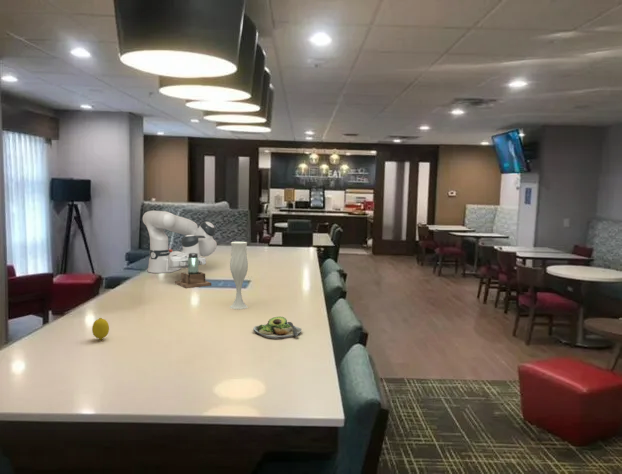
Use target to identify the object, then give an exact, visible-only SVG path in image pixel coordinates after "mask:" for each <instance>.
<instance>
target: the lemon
mask: <svg viewBox="0 0 622 474" xmlns="http://www.w3.org/2000/svg"><path fill="white" fill-rule="evenodd" d="M91 329H92V330H91V331H92V335H93V337H95V338H96V339H99V340H101V341H102V340H103V339H104V338H106V337H107V335H108V334H109V331H110V325H109V322H108V321H107V319H104V318H102V317H98V319H96V320H95V321H94V322H93V324H92V327H91Z"/></svg>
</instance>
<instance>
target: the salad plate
mask: <svg viewBox="0 0 622 474" xmlns="http://www.w3.org/2000/svg"><path fill="white" fill-rule="evenodd" d="M253 332H254V333H255V334H256V335H259V336H261V337H264V338H268V339H273V340H282V339H287V338H294V337H297V336H299V334H300V333H301V332H302V327H301V328H300V327H298V326H295V325H294V324H293V322H292V321H288V320H287V318H286V317H283V316H275V317H272V318H270V319H269V320H268V321H267V324H259V325H255V326H253Z"/></svg>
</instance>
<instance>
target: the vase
mask: <svg viewBox="0 0 622 474" xmlns="http://www.w3.org/2000/svg"><path fill="white" fill-rule="evenodd" d="M230 244H231V253H230V257H231V258H230V261H229V267H230V268H229V270H230V273H231V277H232V279H233V282H234V284H235V288H236V289H235V290H236V295H235V298H234V301H233V303H232V304H231V305H230V306H229V309H233V310H245V309H248V308H249V306H248V305H247V304H245V302H244V299H243V296H242V287H243V283H244V280H245V278H246V276H247V273H248V270H249V269H248V268H249V262H248V253H247V252H248V251H247V245H248V242H247V241H230Z"/></svg>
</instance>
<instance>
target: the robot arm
mask: <svg viewBox="0 0 622 474" xmlns="http://www.w3.org/2000/svg"><path fill="white" fill-rule="evenodd" d="M142 222H143V224H144V225H145V226H146V229H147V231H148V235H149V258H148V267H147V272H148V273H152V274H153V273H155V274H161V273H163V274H165V273H174V272H177V271H179V270H182V269H188V257H189V254H190V253H197V254H198V266H202V265H206V264H207V258H206V257H208V256H211V255H212V254H213V253H214V252H215V251H216V249H217V247H218V245H217V244H218V243H217V241H216V240H215V239H214V236H215V235H216V227H215V225H214V224H213V223H212V222H210V221H205V220H204V221H203V222H201V224H199V226H198V224H197V223H196V222H195V221H194V220H192V219H189V218H186V217H183V216H179V215H176V214H174V213H171V212H169V211H164V210H148V211H146V212H144V214H143V215H142ZM165 230H166V231H167V230H168V231H170V232H171V233H177V234H180V235H183V237H182V239H181V241H180V242H181V246H182V251H178V250H174V251H173V249H171V248H169V237H168V235H167V234H166V232H165Z"/></svg>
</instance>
